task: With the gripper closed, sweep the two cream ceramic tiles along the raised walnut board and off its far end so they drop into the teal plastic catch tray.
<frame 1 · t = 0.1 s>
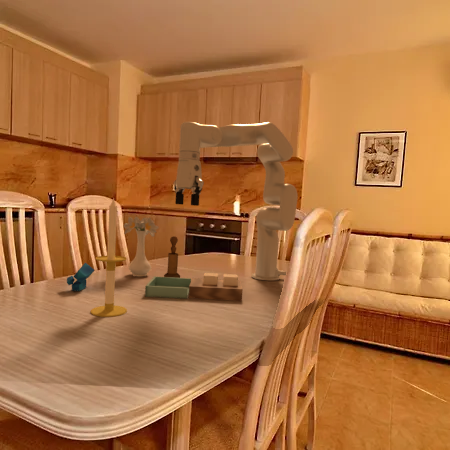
hand: (186, 204, 134), 31 cm above the table, tool pointing down, fingers open, 9 cm apart
tile b: (210, 282, 130), point 4 cm above the table, touching board
candle: (109, 312, 104), on the table
tray: (169, 291, 130), on the table
tile a: (230, 283, 131), point 4 cm above the table, touching board
board: (215, 294, 131), on the table
flower vase: (139, 275, 156), on the table
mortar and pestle: (171, 281, 148), on the table
crystal: (80, 289, 127), on the table
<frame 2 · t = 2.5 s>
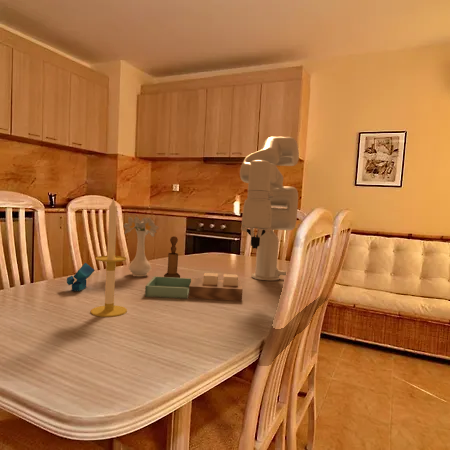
hand: (254, 248, 129), 17 cm above the table, tool pointing down, fingers closed
nothing on the table moved.
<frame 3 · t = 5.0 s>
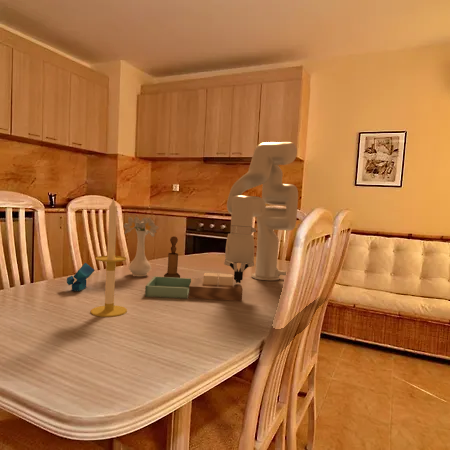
hand: (238, 281, 130), 5 cm above the table, tool pointing down, fingers closed
tile a: (225, 283, 130), point 4 cm above the table, touching gripper
everything else where it was.
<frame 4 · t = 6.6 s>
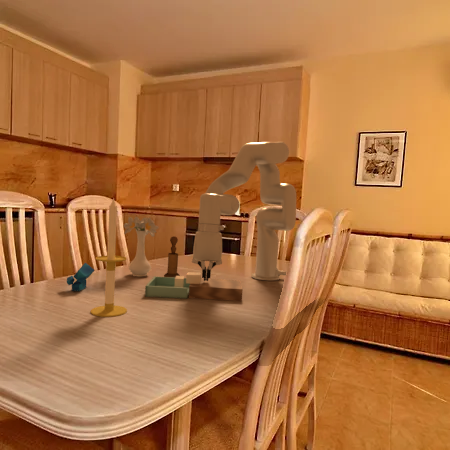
hand: (206, 280, 130), 5 cm above the table, tool pointing down, fingers closed
tile b: (183, 284, 130), point 3 cm above the table, tilted 90°, touching tray
tile a: (193, 282, 130), point 4 cm above the table, touching gripper
everything else where it was.
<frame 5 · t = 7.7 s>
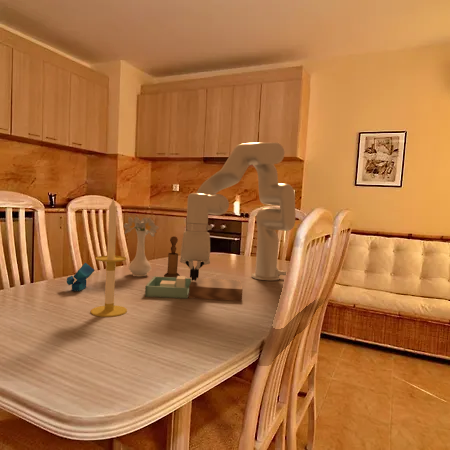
hand: (194, 279, 130), 5 cm above the table, tool pointing down, fingers closed
tile b: (168, 282, 130), point 3 cm above the table, tilted 180°, touching tray
tile a: (185, 284, 130), point 3 cm above the table, tilted 90°, touching tray
everything else where it was.
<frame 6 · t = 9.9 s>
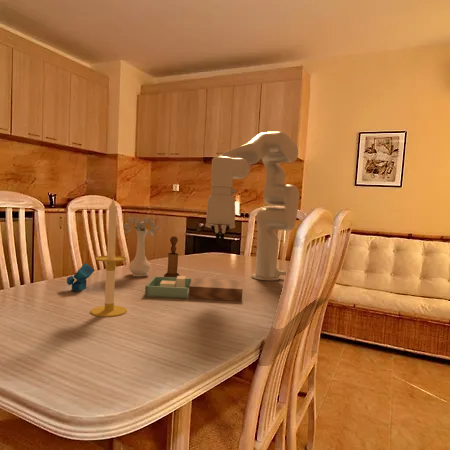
hand: (219, 243, 130), 18 cm above the table, tool pointing down, fingers closed
nothing on the table moved.
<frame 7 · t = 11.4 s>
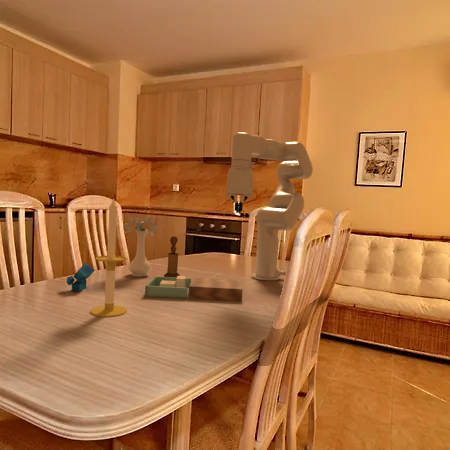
hand: (238, 212, 143), 29 cm above the table, tool pointing down, fingers closed
nothing on the table moved.
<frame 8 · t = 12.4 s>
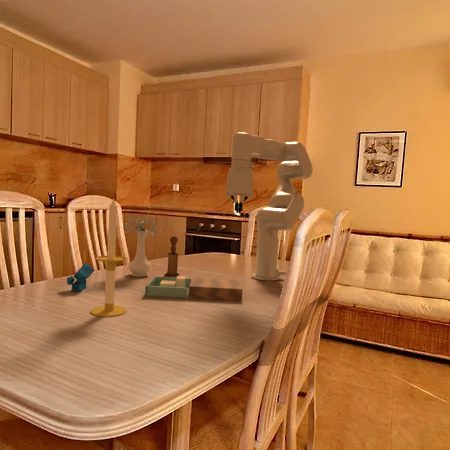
hand: (238, 212, 143), 29 cm above the table, tool pointing down, fingers closed
nothing on the table moved.
at the end: tile a inside the target area on the tray (5.5 cm from its centre), point 3.0 cm above the tray's base; tile b inside the target area on the tray (0.8 cm from its centre), point 3.5 cm above the tray's base; tile a touching tray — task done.
